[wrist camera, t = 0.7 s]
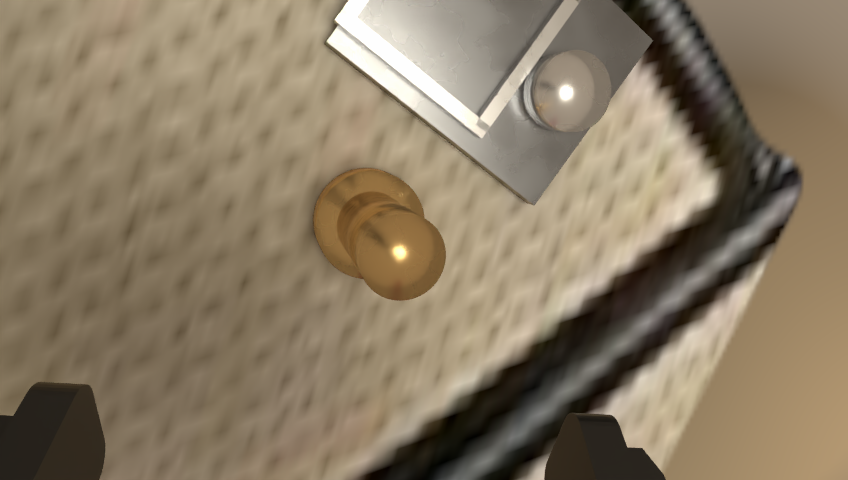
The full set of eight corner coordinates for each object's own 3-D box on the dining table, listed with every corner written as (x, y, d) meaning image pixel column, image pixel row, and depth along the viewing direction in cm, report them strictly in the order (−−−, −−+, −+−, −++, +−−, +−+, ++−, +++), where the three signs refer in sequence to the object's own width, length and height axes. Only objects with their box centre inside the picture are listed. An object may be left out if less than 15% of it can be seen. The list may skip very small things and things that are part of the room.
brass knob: (291, 233, 36) (303, 277, 26) (354, 146, 36) (388, 158, 26) (376, 289, 38) (416, 349, 28) (436, 207, 37) (496, 239, 28)
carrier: (319, 40, 34) (325, 33, 31) (450, -143, 34) (468, -169, 31) (526, 202, 39) (548, 210, 36) (641, 42, 39) (673, 36, 36)
